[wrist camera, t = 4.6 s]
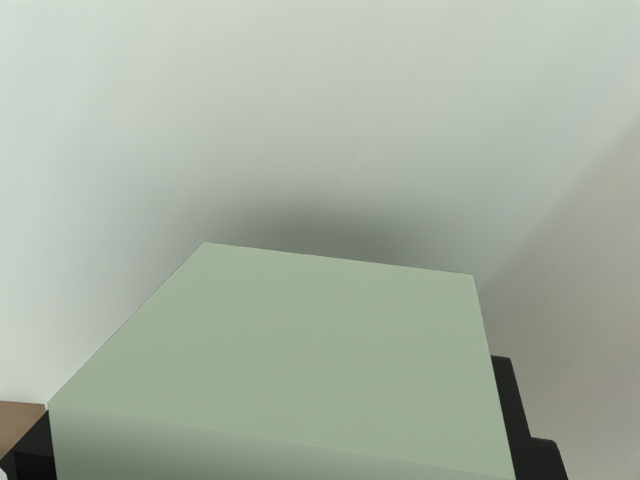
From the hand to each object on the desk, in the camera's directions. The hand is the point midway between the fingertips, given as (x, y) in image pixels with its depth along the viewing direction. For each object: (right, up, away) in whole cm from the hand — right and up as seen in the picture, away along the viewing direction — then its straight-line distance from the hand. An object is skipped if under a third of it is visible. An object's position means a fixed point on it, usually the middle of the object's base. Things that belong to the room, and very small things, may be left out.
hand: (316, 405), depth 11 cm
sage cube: (0, 0, +1) cm, 1 cm away
